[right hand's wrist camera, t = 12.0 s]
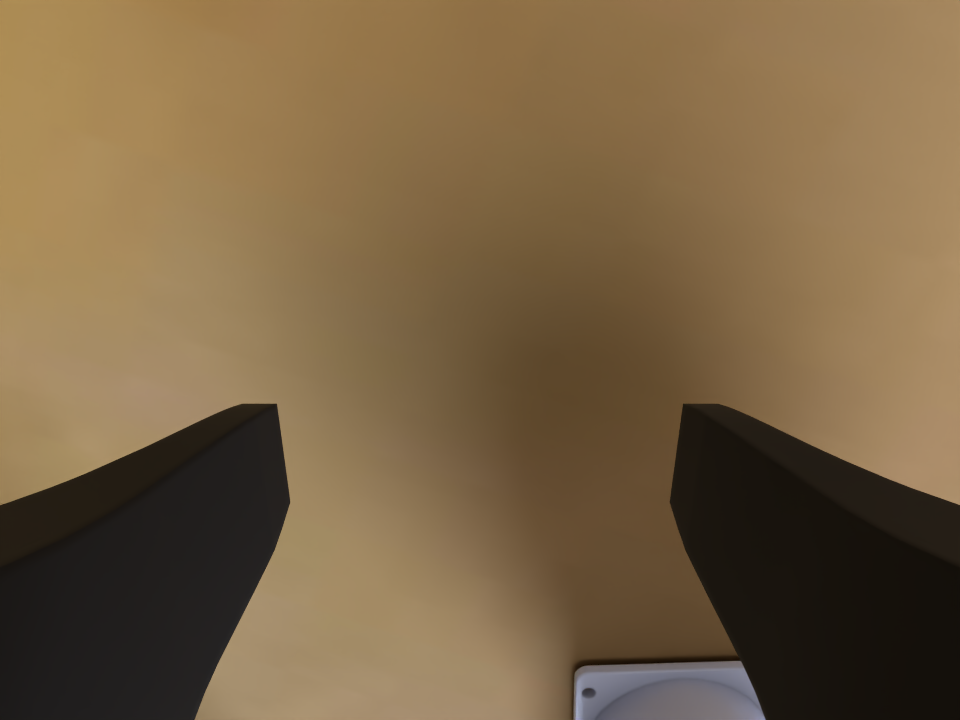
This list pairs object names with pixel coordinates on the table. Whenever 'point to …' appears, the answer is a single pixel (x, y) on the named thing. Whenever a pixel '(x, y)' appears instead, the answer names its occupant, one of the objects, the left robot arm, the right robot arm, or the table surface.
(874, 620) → the right robot arm
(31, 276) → the table surface
